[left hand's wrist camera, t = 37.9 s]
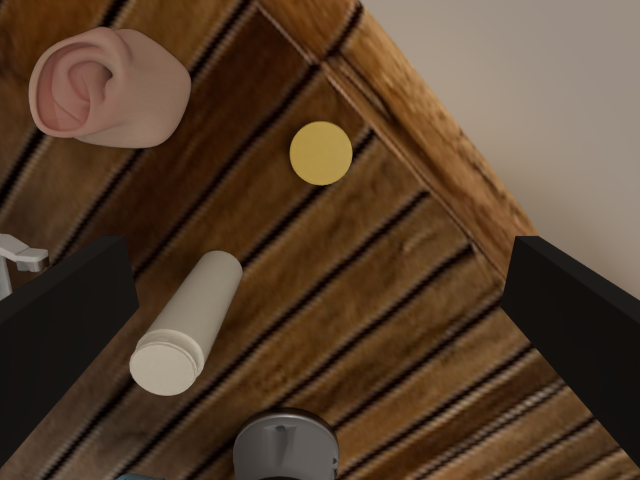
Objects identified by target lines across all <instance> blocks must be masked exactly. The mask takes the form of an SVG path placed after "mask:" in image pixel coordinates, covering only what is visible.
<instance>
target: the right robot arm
mask: <svg viewBox="0 0 640 480" xmlns="http://www.w3.org/2000/svg"><path fill="white" fill-rule="evenodd" d="M5 257H6V258H8V259H10V260H12V261H14V262H16V264H17V268H18V271H27V270H29V271H31V272H38V271H42V270H43V269H44V268H45V267H48V266H50V262H49V256H48V250H45V249H35V248H30V247H29V246H27V245H26V244H24V243H23V242H21V241H19V240H18V239H16V238H15V237H13V236H11V235H10V234H1V233H0V300H2V299H3V298H5V297H7V296H8V295H10V294H11V293H13V292H12V287H11V282H10V277H9V272H8V267H7V262H6V258H5Z"/></svg>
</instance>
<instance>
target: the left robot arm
mask: <svg viewBox="0 0 640 480" xmlns="http://www.w3.org/2000/svg"><path fill="white" fill-rule="evenodd" d="M138 308H139V302H138V298H137V293H136V288H135V283H134V279H133V274H132V269H131V265H130V260H129V255H128V250H127V246H126V241H125V236H101V237H99V238H98V239H96V240H95V241H93V242H91V243H90V244H88V245H87V246H85V247H84V248H82V249H80V250H79V251H77V252H76V253H74V254H73V255H71V256H69V257H68V258H66V259H65V260H63V261H62V262H60V263H58V264H57V265H55V266H54V267H52V268H51V269H49V270H47V271H46V272H44V273H43V274H41V275H40V276H38V277H36V278H35V279H33V280H32V281H30V282H29V283H27V284H25V285H24V286H22V287H21V288H19V289H18V290H16V291H14V292H13V293H11V294H10V295H8V296H7V297H5V298H3V299H2V300H0V468H1V467H2V466H3V465H4V464H5V463H6V461H7V460H8V459H9V458H10V457H11V456H12V454H13V453H14V452H15V451H16V450H17V449H18V448H19V446H20V445H21V444H22V443H23V442H24V441H25V439H26V438H27V437H28V436H29V435H30V434H31V432H32V431H33V430H34V429H35V428H36V427H37V425H38V424H39V423H40V422H41V421H42V420H43V418H44V417H45V416H46V415H47V414H48V413H49V411H50V410H51V409H52V408H53V407H54V406H55V404H56V403H57V402H58V401H59V400H60V399H61V398H62V396H63V395H64V394H65V393H66V392H67V391H68V389H69V388H70V387H71V386H72V385H73V384H74V382H75V381H76V380H77V379H78V378H79V377H80V375H81V374H82V373H83V372H84V371H85V370H86V368H87V367H88V366H89V365H90V364H91V363H92V361H93V360H94V359H95V358H96V357H97V356H98V354H99V353H100V352H101V351H102V350H103V349H104V348H105V346H106V345H107V344H108V343H109V342H110V341H111V339H112V338H113V337H114V336H115V335H116V334H117V332H118V331H119V330H120V329H121V328H122V327H123V325H124V324H125V323H126V322H127V321H128V320H129V318H130V317H131V316H132V315H133V314H134V313H135V311H136V310H137V309H138ZM501 308H502V309H503V310H504V311H505V313H506V314H507V315H508V316H509V317H510V318H511V320H512V321H513V322H514V323H515V324H516V325H517V327H518V328H519V329H520V330H521V331H522V332H523V334H524V335H525V336H526V337H527V338H528V339H529V341H530V342H531V343H532V344H533V345H534V346H535V348H536V349H537V350H538V351H539V352H540V353H541V354H542V356H543V357H544V358H545V359H546V360H547V361H548V363H549V364H550V365H551V366H552V367H553V368H554V370H555V371H556V372H557V373H558V374H559V375H560V377H561V378H562V379H563V380H564V381H565V382H566V384H567V385H568V386H569V387H570V388H571V389H572V391H573V392H574V393H575V394H576V395H577V396H578V398H579V399H580V400H581V401H582V402H583V403H584V404H585V406H586V407H587V408H588V409H589V410H590V411H591V413H592V414H593V415H594V416H595V417H596V418H597V420H598V421H599V422H600V423H601V424H602V425H603V427H604V428H605V429H606V430H607V431H608V432H609V434H610V435H611V436H612V437H613V438H614V439H615V441H616V442H617V443H618V444H619V445H620V446H621V448H622V449H623V450H624V451H625V452H626V453H627V454H628V456H629V457H630V458H631V459H632V460H633V461H634V463H635V464H636V465H637V466H638V467H639V468H640V300H638V299H636V298H635V297H633V296H632V295H630V294H629V293H627V292H626V291H624V290H622V289H621V288H619V287H618V286H616V285H615V284H613V283H611V282H610V281H608V280H607V279H605V278H604V277H602V276H600V275H599V274H597V273H596V272H594V271H593V270H591V269H589V268H588V267H586V266H585V265H583V264H582V263H580V262H578V261H577V260H575V259H574V258H572V257H571V256H569V255H567V254H566V253H564V252H563V251H561V250H559V249H558V248H556V247H555V246H553V245H552V244H550V243H549V242H547V241H545V240H544V239H542V238H541V237H539V236H515V241H514V246H513V250H512V255H511V260H510V265H509V269H508V274H507V279H506V283H505V288H504V293H503V298H502V302H501ZM338 461H339V445H338V439H337V437H336V434H335V432H334V431H333V429H332V428H331V427H330V426H329V425H328V424H327V423H326V422H325V421H324V420H322V419H321V418H319V417H318V416H316V415H314V414H311V413H309V412H306V411H302V410H297V409H287V408H285V409H273V410H269V411H265V412H262V413H260V414H257V415H255V416H254V417H252V418H250V419H249V420H248V421H247V422H245V423H244V425H243V426H242V427H241V428H240V430H239V432H238V434H237V436H236V440H235V444H234V449H233V463H234V472H235V480H335V478H336V476H337V473H336V471H337V467H338ZM337 472H338V471H337ZM335 474H336V475H335ZM116 480H165V479H164V478H158V479H157V478H152V477H147V476H143V475H139V474H133V473H130V474H125V475H122V476H120V477H119V478H117V479H116Z"/></svg>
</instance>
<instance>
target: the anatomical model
mask: <svg viewBox="0 0 640 480" xmlns="http://www.w3.org/2000/svg"><path fill="white" fill-rule="evenodd" d="M190 91H191V79H190V76H189V73H188V72H187V70H186V69H185V67H184V66H183V65H182V64H181V63H180V62H179V61H178V60H177V59H176V58H175V57H173V56H172V55H171V54H170V53H169V52H168V51H166V50H165V49H164V48H163V47H162V46H160V45H159V44H158V43H156V42H155V41H153V40H152V39H150V38H148V37H147V36H145V35H144V34H142V33H140V32H138V31H135V30H132V29H121V30H116V31H114V30H112V29H110V28H106V27H98V28H95V29H92V30H89V31H87V32H84V33H82V34H79V35H76V36H73V37H70V38H67V39H65V40H63V41H60V42H58V43H56V44H55V45H53V46H52V47H50V48H49V49H48V50H47V51H45V52H44V53H43V55H42V56H41V57H40V59H39V60H38V62H37V64H36V66H35V68H34V70H33V73H32V76H31V79H30V84H29V103H30V109H31V113H32V117H33V119H34V121H35V123H36V125H37V127H38V128H39V129H40V130H41V131H42V132H44V133H46V134H48V135H50V136H54V137H61V138H72V137H74V138H76V139H78V140H80V141H83V142H86V143H90V144H96V145H102V146H110V147H121V148H147V147H153V146H156V145H159V144H161V143H163V142H164V141H165V140H167V139H168V138H169V137H170V136H171V135H172V133H173V132H174V131H175V129H176V128H177V126H178V124H179V122H180V121H181V118H182V116H183V114H184V112H185V109H186V106H187V103H188V100H189V96H190Z"/></svg>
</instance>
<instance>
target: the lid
mask: <svg viewBox="0 0 640 480" xmlns="http://www.w3.org/2000/svg"><path fill="white" fill-rule="evenodd" d="M290 160H291V164H292V166H293V168H294V170H295V172H296V173H297V174H298V175H299V176H300V177H301V178H302V179H303V180H305V181H306V182H308V183H311V184H315V185H327V184H331V183H333V182H335V181H337V180H339V179H340V178H341V177H342V176H343V175H344V174H345V173H346V172H347V170H348V168H349V166H350V164H351V160H352V147H351V143H350V141H349V139H348V137H347V135H346V134H345V132H344V131H343V130H342V129H341V128H340V127H338V126H337V125H335V124H333V123H331V122H327V121H314V122H311V123H309V124H307V125H305V126H303V127H302V128H301V129H300V130H299V131H298V132H297V134H296V135H295V137H294V138H293V141H292V143H291V147H290Z"/></svg>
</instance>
